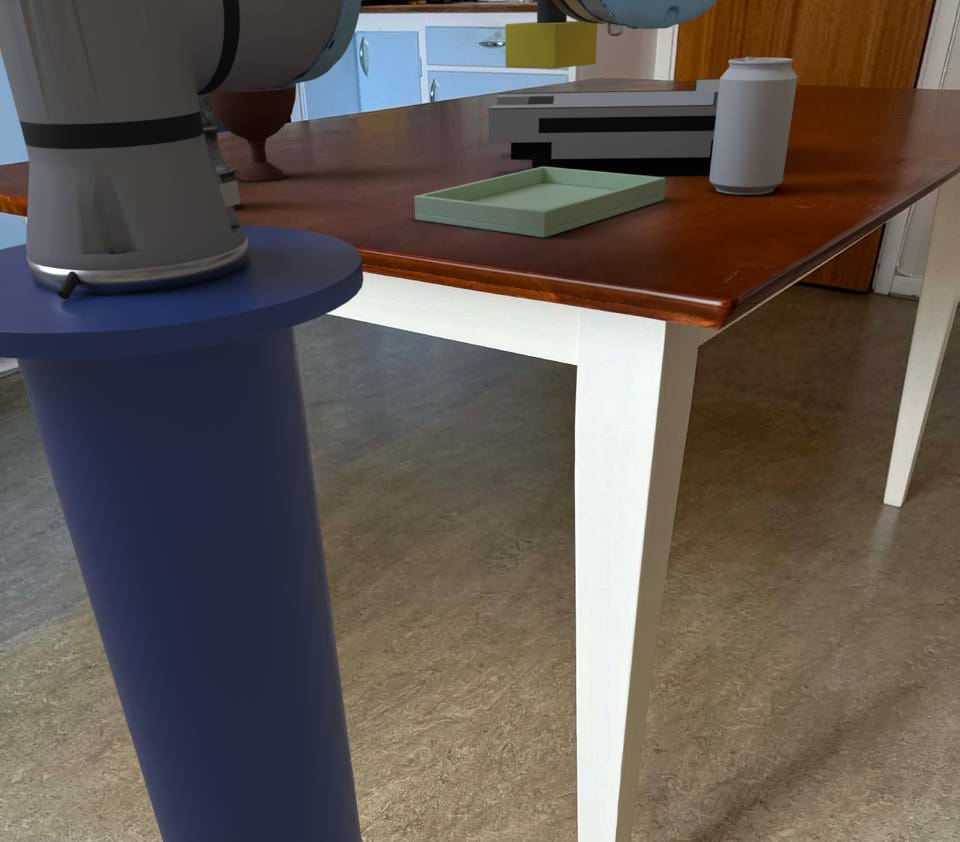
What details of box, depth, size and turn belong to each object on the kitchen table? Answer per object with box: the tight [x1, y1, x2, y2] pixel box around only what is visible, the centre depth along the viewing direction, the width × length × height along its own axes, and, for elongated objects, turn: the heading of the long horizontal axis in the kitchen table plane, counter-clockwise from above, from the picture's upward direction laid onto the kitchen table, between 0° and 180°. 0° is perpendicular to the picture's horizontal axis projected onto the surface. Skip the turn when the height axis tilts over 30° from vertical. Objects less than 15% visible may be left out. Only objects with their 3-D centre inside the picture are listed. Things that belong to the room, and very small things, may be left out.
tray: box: [413, 167, 666, 239], centre depth 93 cm, size 21×15×2 cm
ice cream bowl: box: [210, 84, 297, 182], centre depth 110 cm, size 11×11×15 cm
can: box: [708, 56, 798, 196], centre depth 96 cm, size 8×8×12 cm
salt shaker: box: [198, 94, 241, 210], centre depth 95 cm, size 6×6×12 cm
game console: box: [487, 77, 720, 176], centre depth 115 cm, size 21×32×8 cm, turn 86°
